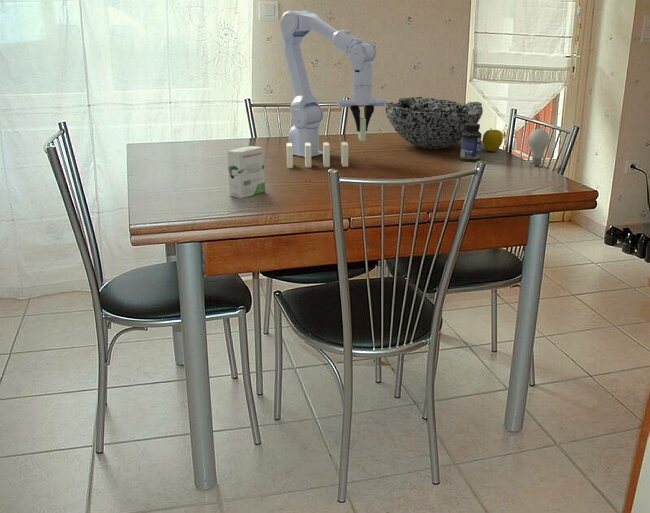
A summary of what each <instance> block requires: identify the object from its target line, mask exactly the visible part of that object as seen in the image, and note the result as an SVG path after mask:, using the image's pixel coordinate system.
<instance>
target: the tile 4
mask: <svg viewBox="0 0 650 513" xmlns="http://www.w3.org/2000/svg"><path fill="white" fill-rule="evenodd" d="M340 158H341V160H340V164H341V165H342V167H343V168H345V167H349V144H348V142H347V141H340Z"/></svg>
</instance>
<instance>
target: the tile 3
mask: <svg viewBox="0 0 650 513" xmlns="http://www.w3.org/2000/svg"><path fill="white" fill-rule="evenodd" d="M330 146H331V145H330V143H329V141H327V142H322V152H323V154H322V165H323V167H324V168H330V167H331V163H330V162H331V156H330V155H331V153H330V152H331V150H330V149H331V147H330Z"/></svg>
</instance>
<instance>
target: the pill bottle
mask: <svg viewBox="0 0 650 513" xmlns="http://www.w3.org/2000/svg"><path fill="white" fill-rule="evenodd" d="M480 126H481V124H480V123H466V124H464V129H465V131H464V132H462V134H461V140H460V152H459V153H460V154H459V158H460V160H461V161H462V162H463V161H464V162H473V163H474V162H479V161H480V160H481V152H482V151H481V149H482V137H483V135H482V133H481V132H480V129H481V128H480Z"/></svg>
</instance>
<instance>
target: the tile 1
mask: <svg viewBox="0 0 650 513" xmlns="http://www.w3.org/2000/svg"><path fill="white" fill-rule="evenodd" d="M285 147H286V167H287V169H293V168H294V160H293V150H292V143H289V142H286V145H285Z"/></svg>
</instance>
